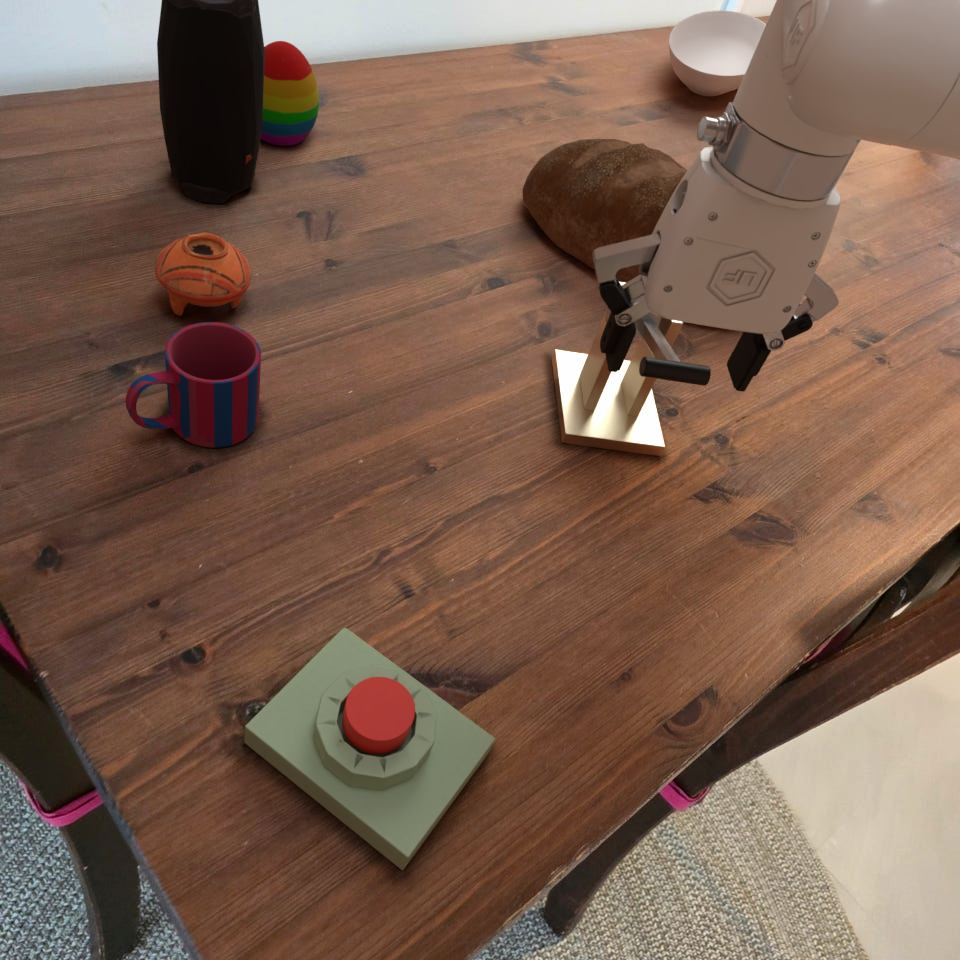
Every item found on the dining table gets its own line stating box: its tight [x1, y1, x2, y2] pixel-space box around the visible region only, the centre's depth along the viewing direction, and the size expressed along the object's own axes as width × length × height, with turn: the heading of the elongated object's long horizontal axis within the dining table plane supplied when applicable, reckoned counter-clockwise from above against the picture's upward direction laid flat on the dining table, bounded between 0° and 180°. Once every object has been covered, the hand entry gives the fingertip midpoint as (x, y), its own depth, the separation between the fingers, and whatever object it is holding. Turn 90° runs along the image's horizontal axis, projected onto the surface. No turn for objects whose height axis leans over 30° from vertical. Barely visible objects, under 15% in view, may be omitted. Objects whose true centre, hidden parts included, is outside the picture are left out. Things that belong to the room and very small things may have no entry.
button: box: [342, 677, 415, 754], centre depth 51 cm, size 4×4×2 cm
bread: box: [522, 138, 688, 295], centre depth 94 cm, size 16×29×11 cm, turn 55°
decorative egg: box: [261, 40, 320, 147], centre depth 96 cm, size 8×8×10 cm
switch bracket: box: [551, 282, 684, 457], centre depth 76 cm, size 11×9×12 cm
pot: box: [154, 232, 252, 316], centre depth 76 cm, size 8×8×7 cm
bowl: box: [668, 10, 767, 97], centre depth 134 cm, size 30×15×6 cm, turn 150°
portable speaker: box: [156, 0, 265, 204], centre depth 83 cm, size 9×9×20 cm
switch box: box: [243, 626, 496, 871], centre depth 53 cm, size 12×9×4 cm
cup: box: [125, 321, 262, 449], centre depth 66 cm, size 7×10×7 cm
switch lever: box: [633, 299, 712, 387], centre depth 69 cm, size 12×5×2 cm, turn 1°
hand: (673, 369), depth 65 cm, fingers open, 9 cm apart
